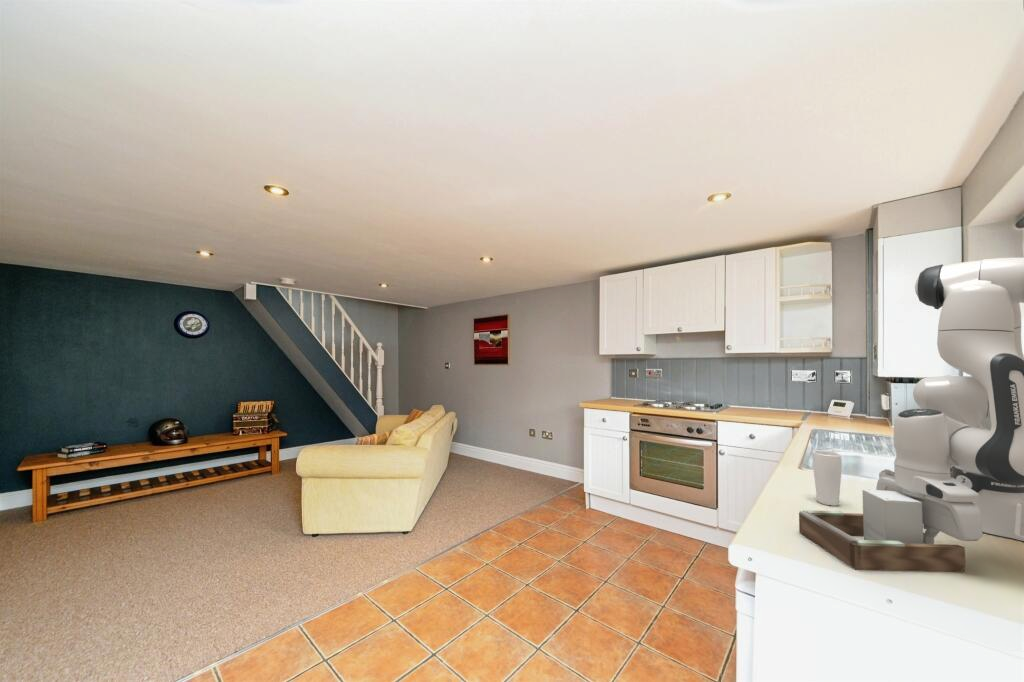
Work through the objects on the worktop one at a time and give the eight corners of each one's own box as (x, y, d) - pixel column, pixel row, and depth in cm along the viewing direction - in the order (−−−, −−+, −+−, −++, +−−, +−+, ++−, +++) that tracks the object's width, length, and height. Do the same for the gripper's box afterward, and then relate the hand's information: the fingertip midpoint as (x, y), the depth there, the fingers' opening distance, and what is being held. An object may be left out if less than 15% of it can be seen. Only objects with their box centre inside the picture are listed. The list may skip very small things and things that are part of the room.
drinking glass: (844, 509, 110) (843, 457, 111) (815, 504, 114) (814, 453, 114) (840, 501, 116) (839, 452, 117) (812, 497, 120) (811, 449, 120)
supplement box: (925, 561, 83) (924, 502, 83) (885, 557, 85) (884, 499, 85) (898, 544, 90) (897, 490, 91) (862, 541, 92) (861, 488, 92)
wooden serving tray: (889, 534, 95) (889, 511, 96) (966, 572, 79) (965, 544, 79) (797, 532, 96) (797, 509, 96) (854, 569, 80) (853, 542, 80)
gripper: (867, 466, 98) (868, 521, 98) (956, 496, 78) (958, 566, 77) (892, 467, 98) (894, 522, 97) (989, 497, 77) (991, 566, 77)
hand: (923, 541), depth 87 cm, fingers closed
